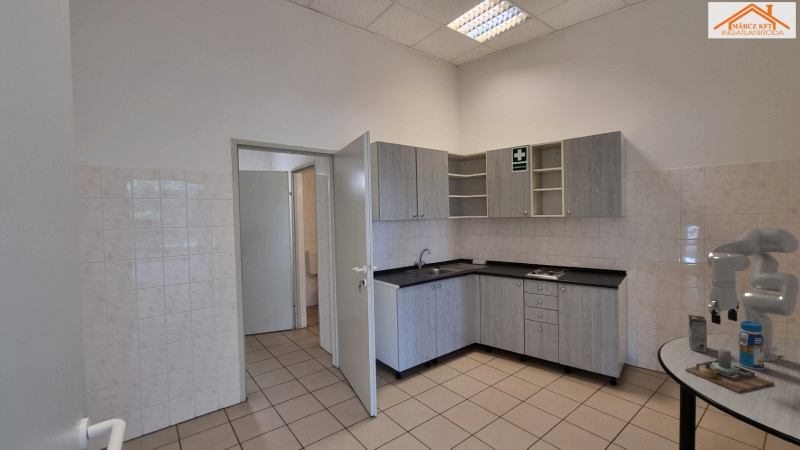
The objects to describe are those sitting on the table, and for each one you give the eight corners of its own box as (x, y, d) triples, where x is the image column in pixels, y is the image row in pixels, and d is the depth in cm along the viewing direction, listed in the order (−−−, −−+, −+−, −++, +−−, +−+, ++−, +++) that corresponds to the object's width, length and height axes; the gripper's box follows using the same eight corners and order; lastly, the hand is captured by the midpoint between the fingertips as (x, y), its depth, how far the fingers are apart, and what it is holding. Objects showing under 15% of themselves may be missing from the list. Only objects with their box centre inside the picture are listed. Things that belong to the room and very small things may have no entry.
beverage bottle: (736, 360, 162) (736, 319, 161) (761, 364, 157) (761, 322, 157) (740, 367, 155) (740, 324, 155) (767, 372, 150) (767, 327, 150)
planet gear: (720, 364, 157) (720, 345, 156) (745, 374, 148) (745, 353, 147) (704, 368, 155) (704, 348, 154) (729, 377, 146) (728, 357, 145)
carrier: (718, 364, 160) (718, 351, 159) (773, 384, 140) (773, 370, 140) (685, 370, 155) (685, 358, 155) (738, 393, 136) (738, 378, 135)
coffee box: (688, 344, 183) (688, 314, 182) (704, 346, 179) (704, 316, 179) (690, 350, 176) (690, 319, 175) (707, 352, 172) (706, 321, 171)
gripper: (728, 280, 155) (728, 316, 156) (699, 284, 151) (700, 322, 152) (748, 283, 148) (749, 321, 149) (718, 287, 144) (719, 327, 145)
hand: (724, 321), depth 150 cm, fingers open, 9 cm apart
